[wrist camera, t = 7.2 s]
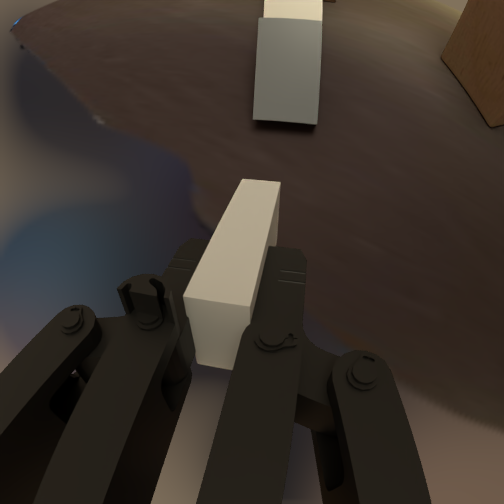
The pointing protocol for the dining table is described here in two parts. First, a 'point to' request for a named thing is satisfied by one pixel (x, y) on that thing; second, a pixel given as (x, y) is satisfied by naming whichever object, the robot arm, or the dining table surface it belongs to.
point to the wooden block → (480, 56)
